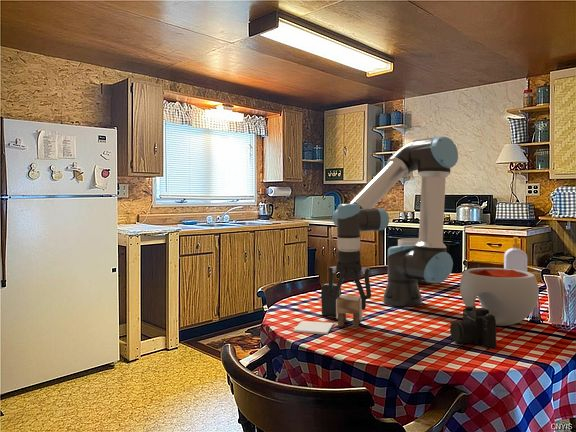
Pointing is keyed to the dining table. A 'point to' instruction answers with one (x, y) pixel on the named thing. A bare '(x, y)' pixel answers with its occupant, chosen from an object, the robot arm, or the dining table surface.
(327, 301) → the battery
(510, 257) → the soap bottle
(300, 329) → the mat
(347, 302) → the stool
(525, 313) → the pot
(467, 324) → the camera
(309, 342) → the dining table surface
